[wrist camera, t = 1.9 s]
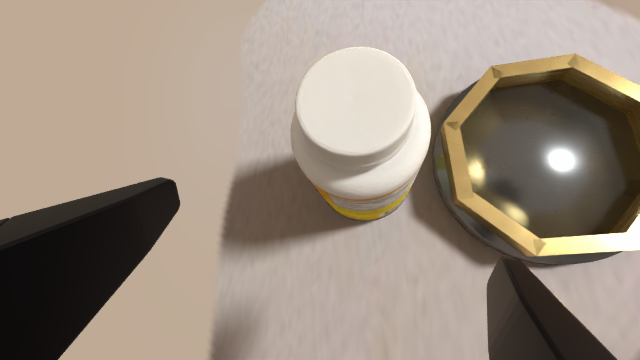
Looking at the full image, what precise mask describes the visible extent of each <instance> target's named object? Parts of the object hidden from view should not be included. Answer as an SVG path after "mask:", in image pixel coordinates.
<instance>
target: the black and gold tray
mask: <svg viewBox="0 0 640 360" xmlns="http://www.w3.org/2000/svg"><path fill="white" fill-rule="evenodd" d="M433 171H434V176H435V180H436V184H437V186H438V189H439V192H440V194H441V196H442V198H443V200H444V202H445V204H446V205H447V207H448V209H449V210H450V211H451V213H452V214H453V215H454V217H455V218H456V219H457V220H458V221H459V222H460V224H461V225H462V226H463V227H464V228H465V229H466V230H468V231H469V232H470V233H471V234H472V235H474V236H475V237H476V238H477V239H479V240H480V241H482V242H483V243H485V244H486V245H488V246H490V247H492V248H494V249H496V250H498V251H500V252H502V253H504V254H507V255H509V256H512V257H515V258H518V259H522V260H526V261H530V262H536V263H545V264H578V263H587V262H593V261H597V260H601V259H605V258H608V257H610V256H613V255H615V254H618V253H620V252H622V251H626V250H640V86H639V85H637V84H635V83H633V82H631V81H629V80H627V79H625V78H623V77H621V76H619V75H617V74H615V73H613V72H611V71H609V70H607V69H605V68H603V67H601V66H599V65H597V64H595V63H593V62H591V61H589V60H587V59H585V58H583V57H581V56H579V55H577V54H570V55H563V56H557V57H550V58H543V59H536V60H529V61H523V62H516V63H509V64H502V65H496V66H491V67H490V68H489V69H488V70H487V71H486V73H485V74H484V75H483V76H482V77H481V79H480V80H478V81H476V82H475V83H473V84H472V85H470V86H469V87H468V88H467V89H465V90H464V91H463V92H462V93H461V94H460V95H459V96H458V97H457V98H456V99H455V100H454V102H453V103H452V105H451V106H450V107H449V109H448V110H447V112H446V114H445V116H444V118H443V120H442V122H441V124H440V126H439V129H438V131H437V134H436V137H435V142H434V147H433Z"/></svg>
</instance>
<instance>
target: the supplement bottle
mask: <svg viewBox="0 0 640 360" xmlns="http://www.w3.org/2000/svg"><path fill="white" fill-rule="evenodd" d="M430 137H431V123H430V117H429V113H428V109H427V107H426V104H425V102H424V101H423V99H422V97H421V96H420V94H419V93H418V92H417V90H416V88H415V84H414V81H413V79H412V77H411V75H410V73H409V72H408V70H407V69H406V67H405V66H404V65H403V64H402V63H401V62H400V61H399V60H397V59H396V58H395V57H393V56H391V55H390V54H388V53H386V52H384V51H381V50H378V49H375V48H369V47H350V48H345V49H341V50H338V51H335V52H332V53H330V54H328V55H326V56H324V57H323V58H322V59H320V60H319V61H317V62H316V63H315V64H314V65H313V66H312V67H311V68H310V69H309V70H308V71H307V73H306V74H305V75H304V77H303V79H302V80H301V82H300V85H299V87H298V90H297V93H296V100H295V112H294V116H293V119H292V124H291V145H292V150H293V153H294V156H295V159H296V161H297V163H298V165H299V166H300V168H301V170H302V171H303V173H304V174H305V175H306V176H307V178H308V179H309V180H310V181H311V183H312V184H313V185H314V186H315V188H316V189H317V191H319V192H320V194H321V195H322V196H323V197H324V198H325V200H326V201H327V202H328V203H329V205H330V206H331V207H332V208H333V209H334V210H335V211H337V212H338V213H340V214H341V215H343V216H345V217H347V218H350V219H353V220H358V221H372V220H377V219H380V218H383V217H385V216H387V215H389V214H391V213H392V212H394V211H395V210H396V209H397V208H398V207H399V206H400V205H401V204H402V203H403V201H404V200H405V198H406V197H407V195H408V193H409V191H410V189H411V187H412V184H413V183H414V180H415V178H416V176H417V174H418V172H419V169H420V167H421V165H422V163H423V161H424V159H425V156H426V154H427V151H428V147H429V143H430Z"/></svg>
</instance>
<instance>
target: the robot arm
mask: <svg viewBox="0 0 640 360" xmlns="http://www.w3.org/2000/svg"><path fill="white" fill-rule="evenodd" d="M179 207H180V200H179V195H178V191H177V187H176V183H175V182H174V181H173V180H171V179H166V178H162V177H160V178H156V179H152V180H148V181H145V182H140V183H137V184H133V185H129V186H126V187H122V188H119V189H114V190H111V191H107V192H104V193H100V194H96V195H92V196H89V197H85V198H81V199H77V200H73V201H70V202H66V203H62V204H58V205H55V206H51V207H47V208H43V209H40V210H36V211H33V212H29V213H25V214H21V215H17V216H14V217H11V218H6V219H2V220H0V360H58V359H59V358H60V356H61V355H62V354H63V353H64V352H65V351H66V349H67V348H68V347H69V346H70V345H71V344H72V342H73V341H74V340H75V339H76V338H77V336H78V335H79V334H80V333H81V332H82V331H83V329H84V328H85V327H86V326H87V325H88V323H89V322H90V321H91V320H92V319H93V318H94V316H95V315H96V314H97V313H98V312H99V310H100V309H101V308H102V307H103V306H104V304H105V303H106V302H107V301H108V300H109V298H110V297H111V296H112V295H113V294H114V293H115V292H116V290H117V289H118V288H119V287H120V286H121V284H122V283H123V282H124V281H125V280H126V279H127V277H128V276H129V275H130V274H131V273H132V271H133V270H134V269H135V268H136V267H137V265H138V264H139V263H140V262H141V261H142V260H143V258H144V257H145V256H146V255H147V254H148V252H149V251H150V250H151V248H152V247H153V245H154V244H155V243H156V241H157V240H158V239H159V237H160V236H161V234H162V233H163V231H164V230H165V228H166V227H167V226H168V224H169V223H170V221H171V220H172V218H173V217H174V215H175V214H176V213H177V211H178V209H179ZM487 323H488V351H489V360H617V359H616V358H615V357H614V356H613V355H612V354H611V353H610V352H609V351H608V350H607V348H606V347H605V346H604V345H603V344H602V343H601V342H600V341H599V340H598V339H597V338H596V337H595V336H594V335H593V334H592V333H591V332H590V331H589V330H588V329H587V328H586V327H585V326H584V325H583V324H582V323H581V322H580V321H579V320H578V319H577V318H576V317H575V316H574V315H573V314H572V313H571V312H570V311H569V310H568V309H567V307H566V306H565V305H564V304H563V303H562V302H561V301H560V300H559V299H558V298H557V297H556V296H555V295H554V294H553V293H552V292H551V291H550V290H549V289H548V288H547V287H546V286H545V285H544V284H543V283H542V282H541V281H540V280H539V279H538V278H537V277H536V276H535V275H534V274H533V273H532V272H531V271H530V270H529V269H528V268H527V267H526V265H525V264H524V263H522V262H521V261H519V260H515V259H511V258H507V257H501V258H500V259H499V260H498V262H497V264H496V266H495V268H494V270H493V272H492V274H491V276H490V278H489V280H488V283H487Z"/></svg>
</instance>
